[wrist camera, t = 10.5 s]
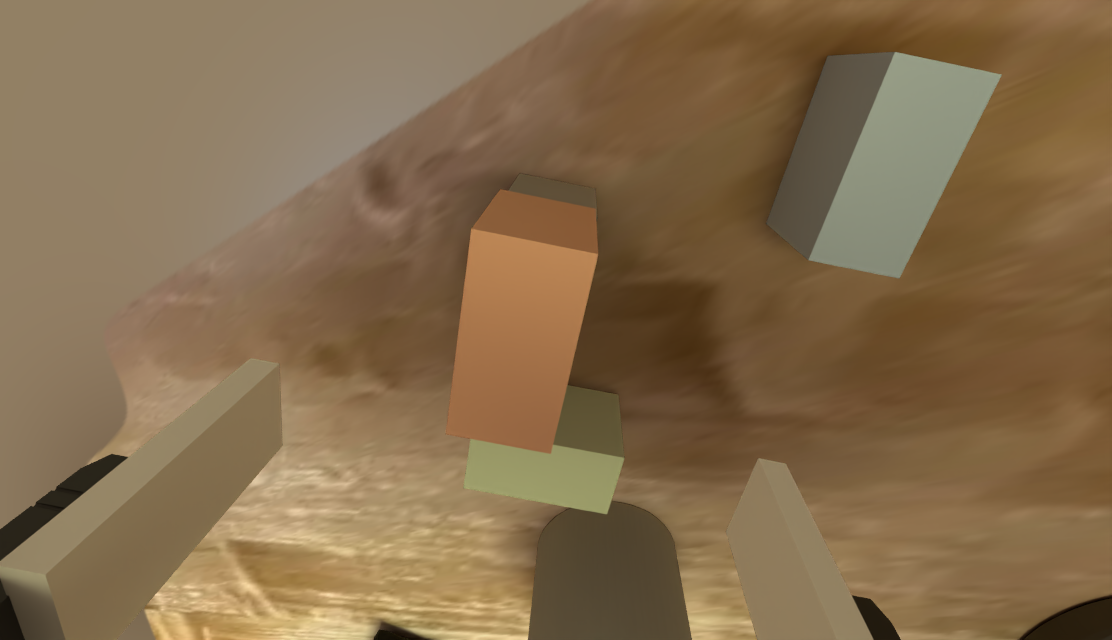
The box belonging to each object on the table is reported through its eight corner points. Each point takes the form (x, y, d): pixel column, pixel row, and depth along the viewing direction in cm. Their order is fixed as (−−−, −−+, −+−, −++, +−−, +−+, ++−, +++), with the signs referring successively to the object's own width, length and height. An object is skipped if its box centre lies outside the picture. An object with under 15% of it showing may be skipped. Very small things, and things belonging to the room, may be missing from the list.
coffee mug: (522, 511, 37) (501, 653, 28) (663, 491, 36) (689, 633, 27) (565, 634, 43) (559, 786, 34) (690, 621, 41) (718, 776, 32)
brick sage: (618, 394, 33) (624, 457, 27) (604, 444, 35) (607, 514, 29) (491, 369, 33) (471, 429, 27) (482, 422, 34) (463, 488, 29)
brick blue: (838, 238, 28) (899, 278, 23) (765, 223, 28) (808, 260, 22) (910, 73, 25) (1001, 74, 19) (826, 55, 24) (895, 51, 19)
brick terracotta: (558, 371, 25) (550, 454, 20) (475, 355, 25) (445, 433, 20) (595, 208, 22) (598, 254, 16) (500, 189, 22) (471, 228, 16)
